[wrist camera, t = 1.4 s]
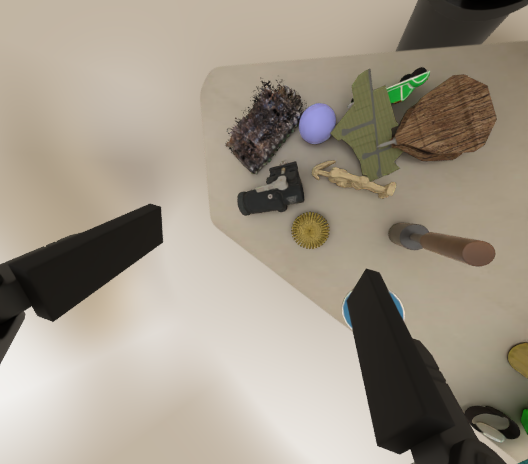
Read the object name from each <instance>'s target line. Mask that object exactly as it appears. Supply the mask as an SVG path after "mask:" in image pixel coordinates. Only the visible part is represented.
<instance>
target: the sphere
mask: <svg viewBox="0 0 528 464" xmlns="http://www.w3.org/2000/svg"><path fill="white" fill-rule="evenodd" d="M335 125H336V116H335V113H334V111H333V110H332V108H331V107H329V106H328V105H326V104H323V103H317V104H313V105H311V106H310V107H308V108H307V109H306V110H305V111H304V113H303V114H302V116H301V118H300V122H299V131H300V134H301V136H302V138H303V139H304V140H305V141H306V142H308V143H311V144H319V143H322V142H324V141H326V140H327V139H328V138H329V137H330V136H331V134H330V133H331V132H332V131H333V129H334V128H335Z"/></svg>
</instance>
